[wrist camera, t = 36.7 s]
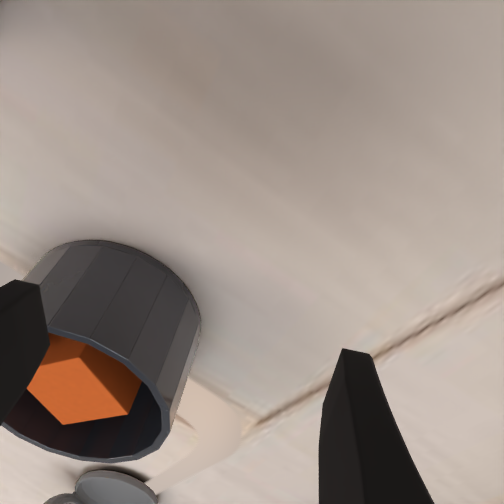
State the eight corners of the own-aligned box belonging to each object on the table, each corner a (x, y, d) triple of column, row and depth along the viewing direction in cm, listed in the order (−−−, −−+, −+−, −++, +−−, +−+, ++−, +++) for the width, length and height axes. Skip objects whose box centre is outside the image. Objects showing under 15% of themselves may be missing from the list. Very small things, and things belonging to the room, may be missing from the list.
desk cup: (1, 300, 27) (-73, 385, 22) (92, 204, 22) (24, 286, 17) (133, 390, 30) (94, 482, 25) (238, 324, 25) (214, 421, 20)
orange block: (103, 349, 27) (62, 425, 23) (61, 299, 25) (10, 372, 21) (160, 337, 26) (128, 414, 22) (121, 283, 24) (78, 357, 20)
